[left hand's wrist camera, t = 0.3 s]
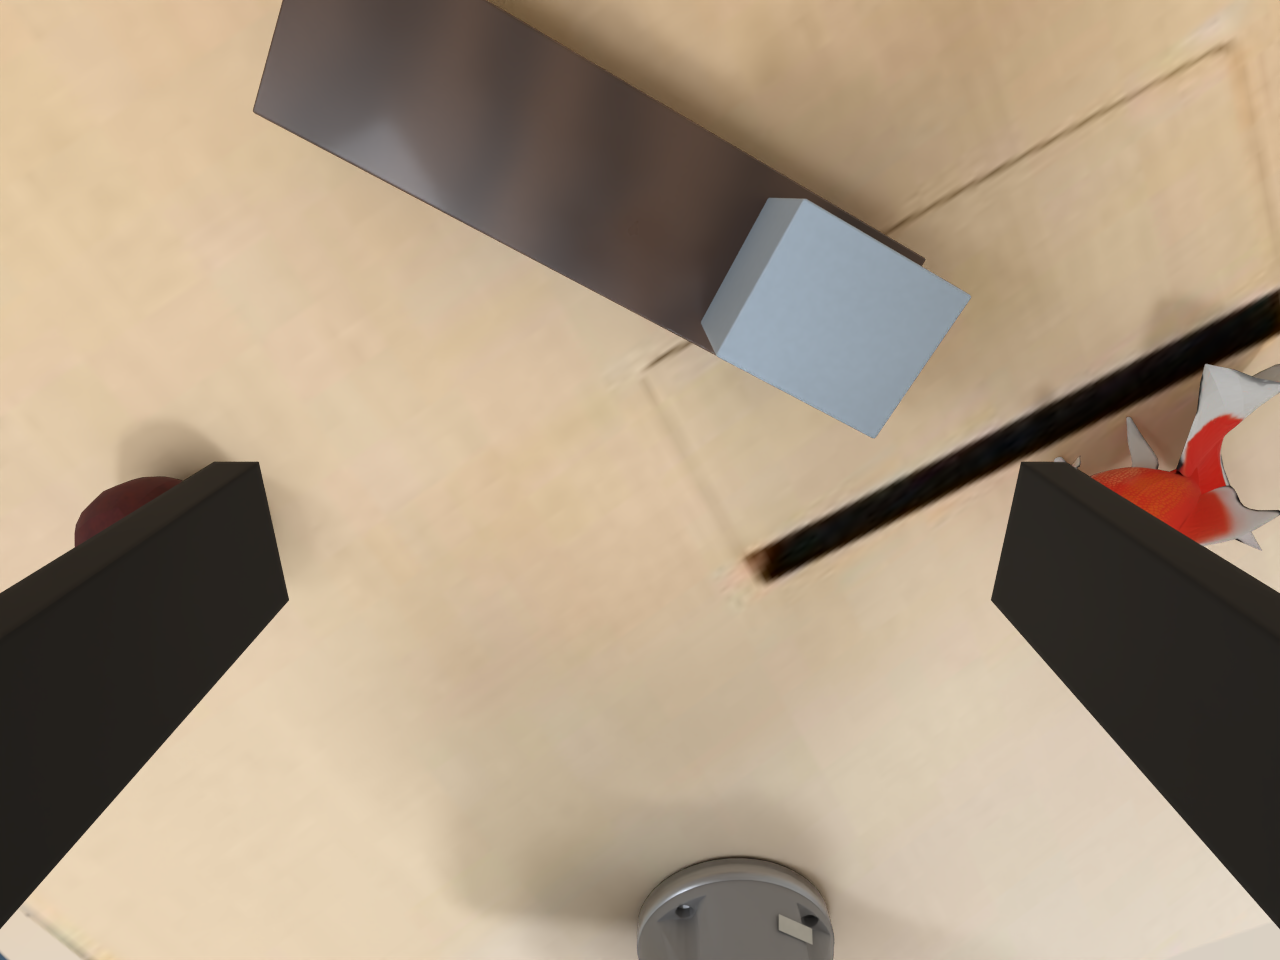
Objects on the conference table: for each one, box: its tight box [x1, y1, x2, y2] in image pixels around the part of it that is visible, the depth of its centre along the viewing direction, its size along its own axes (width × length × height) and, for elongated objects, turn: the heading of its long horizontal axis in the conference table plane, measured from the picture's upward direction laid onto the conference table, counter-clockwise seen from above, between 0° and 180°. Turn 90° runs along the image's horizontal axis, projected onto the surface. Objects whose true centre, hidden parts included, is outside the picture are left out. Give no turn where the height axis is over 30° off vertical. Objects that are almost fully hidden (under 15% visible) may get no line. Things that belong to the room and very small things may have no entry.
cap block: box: [701, 198, 971, 438], centre depth 28 cm, size 7×6×7 cm
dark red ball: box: [75, 477, 182, 547], centre depth 39 cm, size 7×8×7 cm
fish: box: [1054, 364, 1280, 551], centre depth 36 cm, size 11×16×10 cm
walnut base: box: [253, 0, 925, 355], centre depth 32 cm, size 28×8×6 cm, turn 63°
